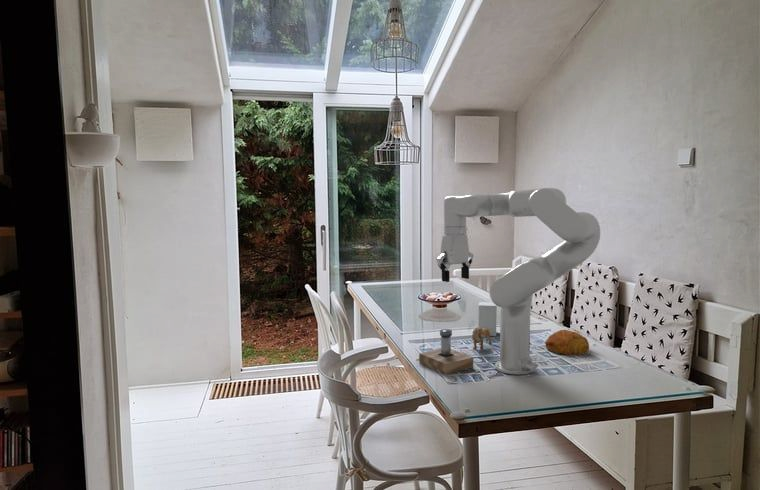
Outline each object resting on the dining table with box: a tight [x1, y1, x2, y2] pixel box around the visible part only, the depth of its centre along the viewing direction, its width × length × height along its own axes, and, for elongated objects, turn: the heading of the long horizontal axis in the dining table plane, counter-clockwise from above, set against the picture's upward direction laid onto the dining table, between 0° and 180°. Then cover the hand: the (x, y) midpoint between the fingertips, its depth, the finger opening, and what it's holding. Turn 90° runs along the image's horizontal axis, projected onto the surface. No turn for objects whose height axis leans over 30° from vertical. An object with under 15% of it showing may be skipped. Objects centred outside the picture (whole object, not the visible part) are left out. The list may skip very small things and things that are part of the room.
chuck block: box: [418, 347, 474, 375], centre depth 175 cm, size 14×12×4 cm
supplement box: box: [477, 301, 498, 337], centre depth 213 cm, size 7×7×13 cm
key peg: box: [439, 328, 453, 358], centre depth 174 cm, size 4×4×12 cm
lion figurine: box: [471, 326, 492, 351], centre depth 194 cm, size 15×5×9 cm, turn 155°
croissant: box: [544, 329, 590, 356], centre depth 190 cm, size 14×16×8 cm
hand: (455, 279), depth 181 cm, fingers open, 9 cm apart
